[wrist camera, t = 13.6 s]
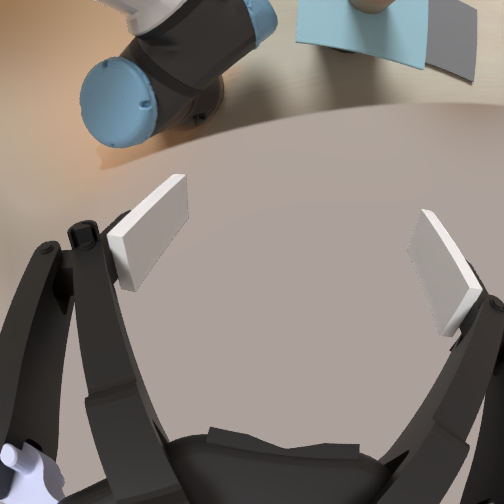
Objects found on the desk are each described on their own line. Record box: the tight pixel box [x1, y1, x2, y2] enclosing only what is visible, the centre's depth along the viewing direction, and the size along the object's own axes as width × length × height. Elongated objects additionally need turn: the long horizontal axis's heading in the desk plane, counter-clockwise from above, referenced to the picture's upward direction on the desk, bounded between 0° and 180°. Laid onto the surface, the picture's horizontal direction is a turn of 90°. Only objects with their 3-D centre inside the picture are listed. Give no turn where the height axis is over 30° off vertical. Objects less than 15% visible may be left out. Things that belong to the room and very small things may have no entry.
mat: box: [425, 0, 477, 82], centre depth 29 cm, size 16×16×1 cm
